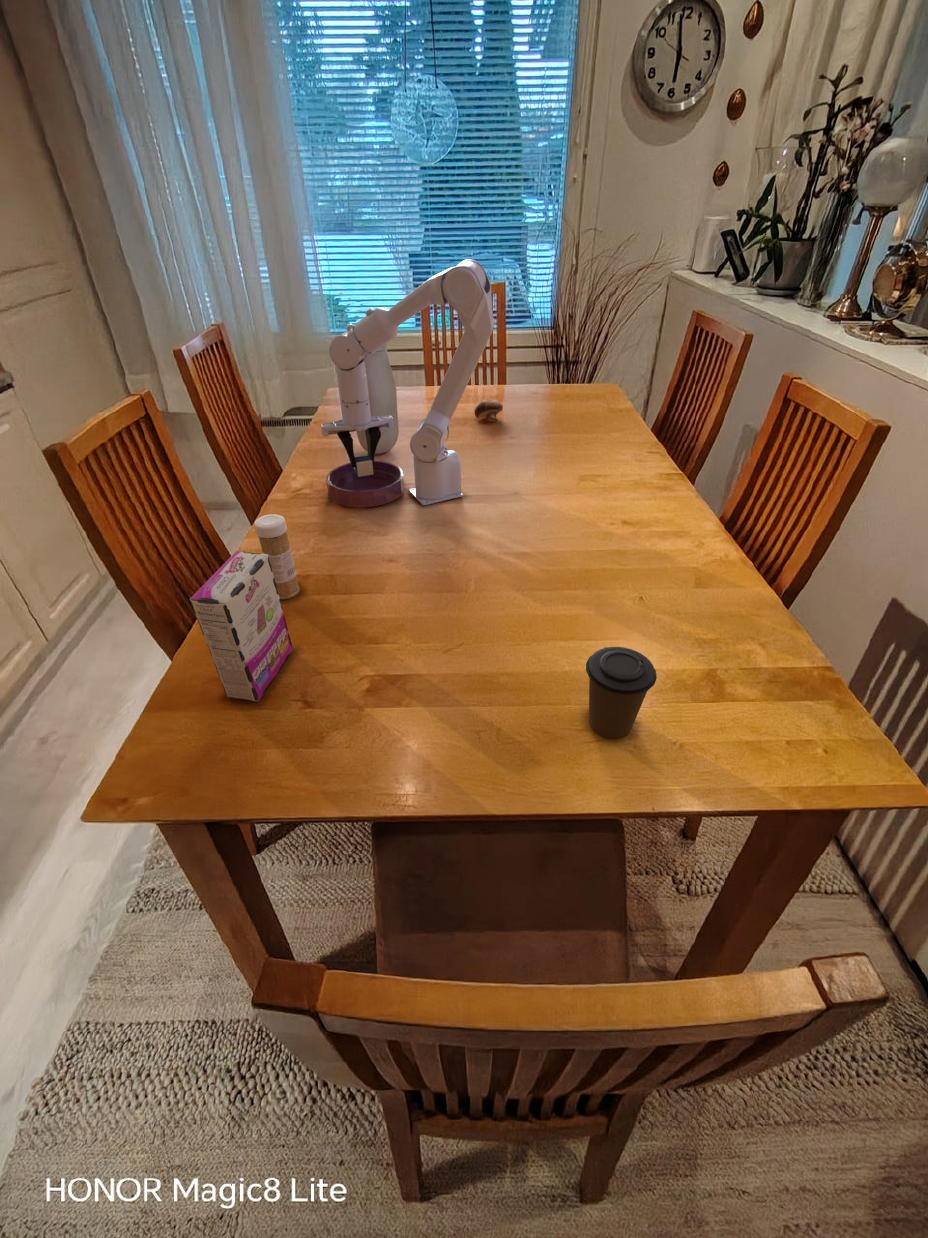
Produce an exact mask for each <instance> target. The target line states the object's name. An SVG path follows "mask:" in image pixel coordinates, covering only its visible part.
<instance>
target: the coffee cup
mask: <svg viewBox="0 0 928 1238" xmlns="http://www.w3.org/2000/svg"><path fill="white" fill-rule="evenodd" d="M585 672H586V674H587V676H588V678H589V679H588V681H589V682H588V685H589V686H588V724H589V726H590V728H591V729H592V731H594V733H596V734H597V735H599V736H600V737H603V738H605V739H612V740H617V739H622V738H625V737H627V736H628V735H629V734H630V733H631V731H632V729H633V726H634V724H635V721H636V719H637V717H638V714H639V712H640V709H641V707H642V705H643V703H644V701H645V699H646V698H645V697H647V696H646V695H647V693H648V691H650V689H652V687H654V686H655V685H656V681H657V679H658V677H657V671H656V669H655V667H654V664H653V663H652V661H651V660H650V659H649V658H648V657H646V655H644V654H642V653H641V652H639V651H636V650H635V649H632V648H628V647H623V646H607V647H603V648H600V649H598V650H596V651H595V652H593V654H591V655H590V656H589V657H588V659H587V661H586V663H585Z"/></svg>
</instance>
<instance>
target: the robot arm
mask: <svg viewBox="0 0 928 1238" xmlns="http://www.w3.org/2000/svg"><path fill="white" fill-rule="evenodd" d="M447 304H449V305H450V306H451V307H452V308H453V309H454V311H455V312H456V313H457V314H458V318H459V320H460V322H461V325H462V327H463V329H464V331H463V334H462V336H461V338H460V340H459V343H458V345H457V347H456V350H455V352H454V354H453V357H452V359H451V361H450V363H449V366H448V368H447V370H446V372H445V374H444V376H443V379H442V381H441V384H440V385H439V388H438V391H437V393H436V395H435V397H434V399H433V402H432V404H431V406H430V409H429V411H428V412H427V414H426V416H425V418H424V419H422V421H421V422H420V424H419V426H418V428H417V430H416V431H415V432H414V433H412V436H411V438H410V440H409V448H410V451H411V454H412V455H413V456H412V459H413V474H414V475H413V476H414V488H409V489H408V492H409V493H410V495H411V496H412V497H413V498H415V499H416V501H418V503H420V504H421V505H422V506H428V505H432V504H437V503H440V502H441V503H442V502H444V501H445V502H446V501H449V500H453V499H457V498H462V497H464V493H462V464H461V460H460V456H459V455H458V453H457V452H456V451H455V450H448V448H447V446H446V444H445V443H446V442H447V441H448V439H449V436H450V424H451V422H452V419H453V416H454V414H455V412H456V409H457V407H458V406H459V404H460V401H461V399H462V397H463V396H464V395H463V394H464V393H465V391H466V389H467V386H468V384H469V382H470V379H471V378H472V375H473V374H474V371H475V370H476V367H477V365H478V363H479V361H480V359H481V357H482V354H483V352H484V350H485V349H486V346H487V344H488V343H489V342H488V341H489V339H490V337H491V336H492V334H493V331H494V326H495V322H494V311H493V299H492V283H491V280H490V279H489V276H488V274H487V271H486V270H485V268H484V266H483V265H482V264H481V263H480V262H479V261H478V260H475V259H471V258H469V259H464V260H462V261H460V262H459V263H457V264H456V266H452V267H449V268H447V269H445V270H443V271H441V272H439V273H437V274H435V275H433V276H431V277H430V278H428V279H427V280H425V281H424V282H423V283H422V284H420V285H419V286H418V287H416V288H415V289H414V290H412V291H411V292H410V293H408V294H407V295H406V296H405V297H404V298H402V299H401V300H399V301H398V302H397V303H395V304H394V305H393V306H391V307H390V308H384V307H380V306H379V307H376V308H375V309H374V308H373V307H370V308H369V309H367V310H366V311H365V312H364V314H365V315H366V316H364V317H362V318H361V319H360V320H358V321H357V322H356V323H355V324H352V323H350V324H349V325H347V326H345V329H346V331H344V332H342V333H340V335H336V336H335V337H334V338H333V340H332V341H331V342H330V344H329V347H328V354H329V358H330V360H331V361H332V363H333V364H334V365H335V371H336V381H337V388H338V397H339V403H340V411H341V419H337V420H334V421H331V422H326V423H320V430H321V435H322V436H323V437H324V438H325V437H329V436H332V435H337V436H338V439H339V440H340V442H341V443H342V445H343V447H344V449H345V451H346V454H347V456H348V459H349V463H351V466H352V468H354V467H356V465H355V458H354V452H355V451H354V439H353V437H352V432H356V431H363V430H365V435H366V441H367V451H366V452H367V454H368V455H369V456H370V458H371V460H372V465H374V461H375V457H376V454H375V451H376V448H377V445H378V442H379V440H380V438H381V431H380V429H379V428H384V427H388V428H393V427H394V426H393V418H392V417H391V416H371V414H370V404H369V395H368V385H367V375H366V368H365V358H366V356H367V355H371V354H372V353H374V352H375V351H377V350H378V349H380V348H381V347H383V346H384V345H385V344H387V345H388V344H389V343H390V342H392V341H393V340H394V339H396V338H397V336H398V330H399V326H400V325H402V324H403V323H405V322H406V321H408V320H409V319H411V318H413V317H414V316H415V315H417V314H419V313H420V312H421V311H423V310H425V309H426V308H427V307H429V306H430V305H437V306H445V305H447Z"/></svg>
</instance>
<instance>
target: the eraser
mask: <svg viewBox="0 0 928 1238" xmlns="http://www.w3.org/2000/svg"><path fill="white" fill-rule="evenodd" d="M354 458H355V465H356V467H354V469H355V472H356V474H357V475H358V476H359V477H360V476H367V475H373V465H372V460H371V458H370V456H369V455H368V452H367V451H366V450H361V451H356V452H355V451H354Z"/></svg>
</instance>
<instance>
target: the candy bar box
mask: <svg viewBox="0 0 928 1238" xmlns="http://www.w3.org/2000/svg"><path fill="white" fill-rule="evenodd" d="M189 601H190V604H191V607H192V610H193V613H194V615H195V617H196V620H197V622H198V626H199V628H200V631H201V632H202V636H203V638H204V641H205V643H206V646H207V648H208V650H209V653H210V656H211V657H210V658H211V659H212V661H213V664H214V667H215V669H216V673H217V674H218V677H219V680H220V682H221V685H222V687H223V690H224V693H225V696H226V697H227V698H230V699H235V700H244V701H250V702H256V703H257V702H260V700H261V699H262V697H263V696H264V695H265V693H266V691H267V690H268V688H269V686H270V685H271V684H272V682H273V681H274V679H275V677H276V676H277V674H278V673H279V672H280V670H281V668H282V667H283V666H284V663H286V661H287V660H288V658H289V657H290V655H291V654H292V652H293V651H294V647H293V642H292V639H291V635H290V632H289V627H288V624H287V620H286V617H285V613H284V610H283V606H282V603H281V599H280V597H279V594H278V590H277V586H276V582H275V579H274V575H273V571H272V567H271V564H270V560H269V555H268V554H262V553H257V552H250V551H249V552H246V551H242V550H238V551H235V552H234V553H232V555H231V556H230V557H229V558H228V559H227V560H226V561H224V563H223V564H222V565H221V566H220V567H219V568H218V569H217V570H216V571H215V572H214V573H213V574H212V575H211V576H210V578H208V579H207V580H206V582H205V583H204V584H203V585H202V586H201V587H200V588H199V589H198V590H196V592H195V593H194V594H193V595H192V596H191V597H190V598H189Z"/></svg>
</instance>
